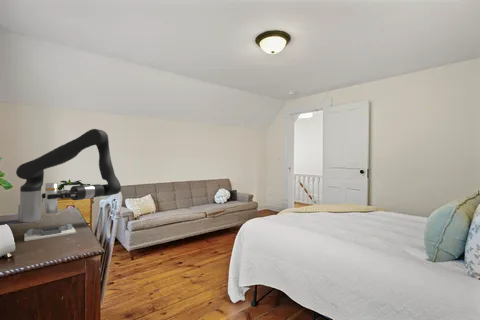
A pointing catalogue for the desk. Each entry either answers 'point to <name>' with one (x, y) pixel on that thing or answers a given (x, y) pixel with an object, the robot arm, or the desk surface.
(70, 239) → the desk surface
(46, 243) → the desk surface
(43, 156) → the robot arm
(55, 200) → the cylinder
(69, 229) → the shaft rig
